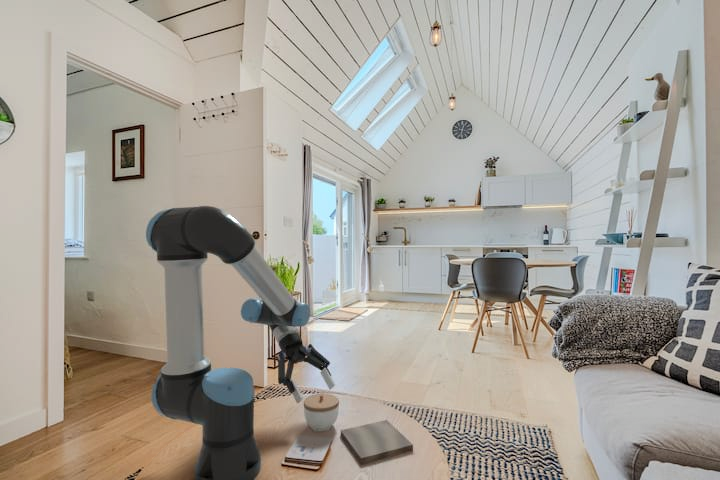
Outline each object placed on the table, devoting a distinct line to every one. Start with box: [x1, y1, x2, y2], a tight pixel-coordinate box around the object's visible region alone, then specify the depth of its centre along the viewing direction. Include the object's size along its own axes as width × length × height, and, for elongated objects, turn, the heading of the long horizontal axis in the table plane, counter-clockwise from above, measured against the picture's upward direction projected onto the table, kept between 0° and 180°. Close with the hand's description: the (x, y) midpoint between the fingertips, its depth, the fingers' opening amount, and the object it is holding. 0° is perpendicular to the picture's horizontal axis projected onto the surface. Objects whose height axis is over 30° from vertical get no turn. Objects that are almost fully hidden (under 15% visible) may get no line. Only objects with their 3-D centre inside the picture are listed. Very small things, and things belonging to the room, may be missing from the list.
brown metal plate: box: [340, 419, 414, 465], centre depth 96 cm, size 15×15×2 cm
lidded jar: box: [303, 393, 340, 432], centre depth 106 cm, size 11×11×9 cm
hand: (317, 393), depth 110 cm, fingers open, 13 cm apart
